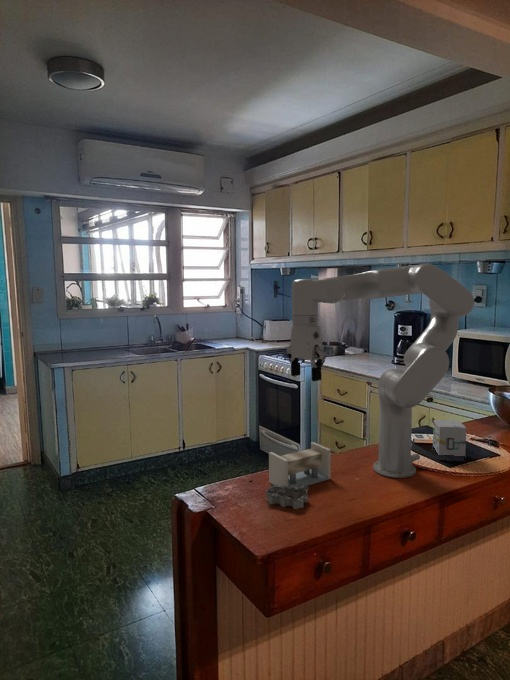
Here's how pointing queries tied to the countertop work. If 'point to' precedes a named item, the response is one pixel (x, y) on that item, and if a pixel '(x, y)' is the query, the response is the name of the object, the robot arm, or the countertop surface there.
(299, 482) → the peg stand
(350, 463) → the countertop surface
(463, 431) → the ink box
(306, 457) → the beige wavy block
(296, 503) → the egg carton
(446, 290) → the robot arm
